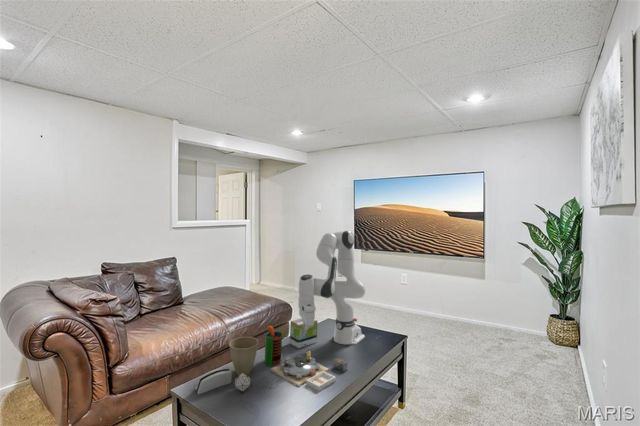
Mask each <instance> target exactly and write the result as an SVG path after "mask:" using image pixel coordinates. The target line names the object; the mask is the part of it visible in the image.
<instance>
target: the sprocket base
mask: <svg viewBox="0 0 640 426" xmlns="http://www.w3.org/2000/svg"><path fill="white" fill-rule="evenodd" d="M329 370H330V368H329V367H325V366H324V365H322V364H320V370H316V375H317V374H319V373H321V372H322V371H325V372H327V373H328V372H329ZM270 372H272V373H274V374H276V375H278V376H279V377H281V378H282V379H285V380H287V381H288V382H289V383H291V384H293V385H295V386H296V387H301V386H303V385H304V384H306V380H307V379H309V378H311V377H313V376H310V375H309V376H306V377H302V379H297V377H293V376H290V375H289V376H285V375H283V370H280V364H278V365H275V366H274V367H272V368H270ZM314 376H315V375H314Z"/></svg>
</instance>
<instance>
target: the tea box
mask: <svg viewBox="0 0 640 426" xmlns="http://www.w3.org/2000/svg"><path fill="white" fill-rule="evenodd" d="M289 325H290V328H289V329H290V330H289V344H290V345H292V346H294V347H295V348H297V349H300V348H303V347H306V346H310V345H312V344H317V342H318V319H314V325H313V326H309V328H308V330H305V328H304V324H303V319H302V318H301V317H300V318H297V319H294V320H290V324H289Z"/></svg>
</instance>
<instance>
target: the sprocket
mask: <svg viewBox="0 0 640 426" xmlns="http://www.w3.org/2000/svg"><path fill="white" fill-rule="evenodd" d="M305 354H306V356H303V355H297V356H294V357H286V358H285V359H284V361H283V363H280V364H279V365H280V370H283V375H285V376H289V375H290V376H293V377H297V379H302V377H306V376H309V375H310V376H314V375H316V370H320V365H321V364H320V363H319V362H317V361H316V358H314V357H312V356H311V355H312V351H311V350H306V353H305Z"/></svg>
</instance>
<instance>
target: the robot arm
mask: <svg viewBox="0 0 640 426" xmlns="http://www.w3.org/2000/svg"><path fill="white" fill-rule="evenodd" d="M354 243H355V235H354V234H353V232H351V231H350V230H344V231H336V232H331V233H330V232H328V233H327V232H326V233H325V234H324V235H323V236H322V237H321V239H320V241H319V244H318V246H317V249H316V251H315V252H316V258H317V260H319V262H321V263H322V264H324V265H326V266H327V267H328V269H327V270H328V272H327V277H326V278H325V279H321V278H315V277H314V275H312V274H303V275H301V276H300V277H299V282H298V294H299V295H298V306H297V307H298V309H299V311H298V313H299V314H298V315H299V316H300V319H301V318H302V319H303V324H304V328H305V330H308V328H309V326H313V325H314V319H315V315H316V313H315V312H316V311H317V310H316V305H315V296H316V297H322V298H325V299H331V300H332V301H333V303H334V304H335V309H336V318H335V325H334V332H333V333H334V334H333V335H332V336H333V341H334V342H335V343H337V344H340V345H353V346H355V345H357V344H358V343H359V342H361V341H363V339H364V338H365V337H366V336H365V334H363V333H362V328H361V327H360V326H358V325H357V324H356V323H357V322H358V318H354V307H353V305H352V304H350V303H349V302H347V301H346V300H345V299H354V300H355V299H361V298H363V297H364V296H365V293H366V286H365V285H364V284H363V283H362V282H361V281H360V280H359V278H358V277H357V276H356V272H355V256H354V255H355V254H354V249H353V246H354ZM336 250H338V252H337V257H336V256H335V253H336ZM337 272H338V274H339V275H341V276H343V278H346V280H345V281H344V280H342V281H341V280H336V278H337V277H336V276H337ZM315 320H316V319H315Z"/></svg>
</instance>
